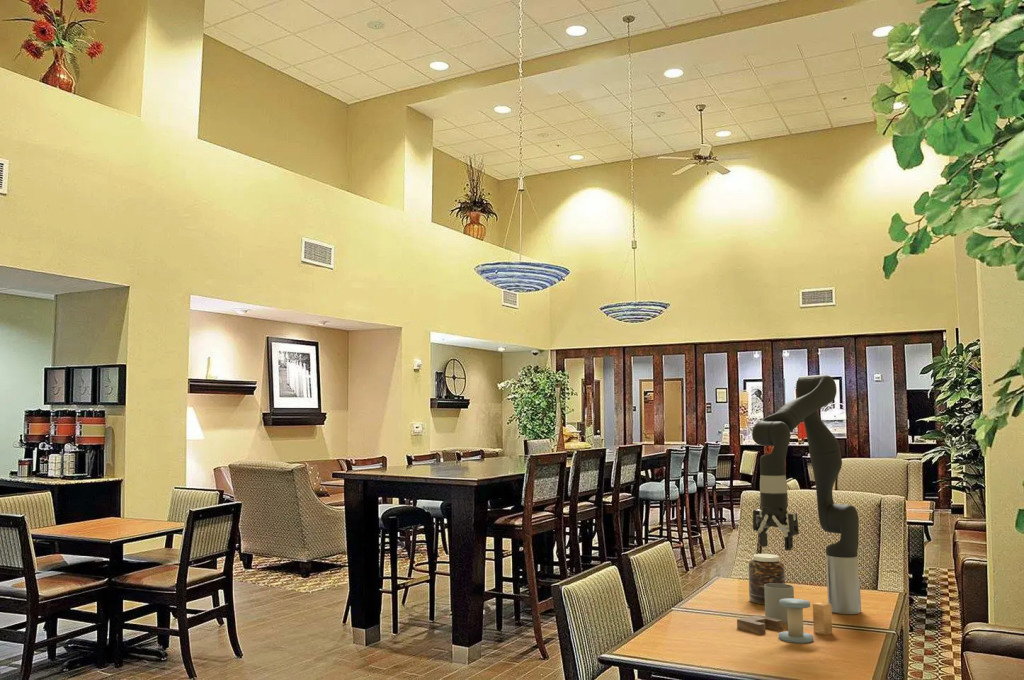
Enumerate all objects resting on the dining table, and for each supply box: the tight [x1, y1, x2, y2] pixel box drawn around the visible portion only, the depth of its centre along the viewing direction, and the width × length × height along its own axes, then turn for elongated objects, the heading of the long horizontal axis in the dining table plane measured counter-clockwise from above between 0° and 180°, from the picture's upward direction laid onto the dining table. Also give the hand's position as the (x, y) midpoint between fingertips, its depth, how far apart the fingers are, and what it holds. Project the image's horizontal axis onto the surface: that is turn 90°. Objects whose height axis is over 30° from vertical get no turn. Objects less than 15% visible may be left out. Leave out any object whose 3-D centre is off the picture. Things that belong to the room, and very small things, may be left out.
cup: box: [764, 583, 795, 624], centre depth 246 cm, size 8×8×10 cm
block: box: [812, 601, 833, 636], centre depth 231 cm, size 4×4×8 cm
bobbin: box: [778, 597, 814, 644], centre depth 224 cm, size 9×9×10 cm
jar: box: [748, 553, 786, 606], centre depth 272 cm, size 12×12×15 cm
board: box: [736, 614, 784, 635], centre depth 235 cm, size 10×8×2 cm
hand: (776, 548), depth 234 cm, fingers open, 8 cm apart
